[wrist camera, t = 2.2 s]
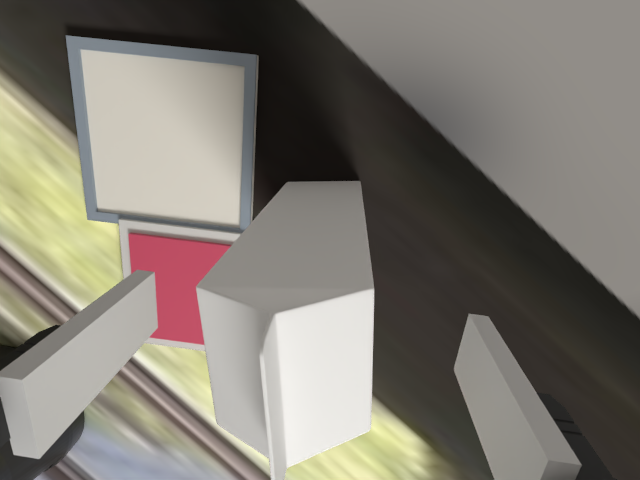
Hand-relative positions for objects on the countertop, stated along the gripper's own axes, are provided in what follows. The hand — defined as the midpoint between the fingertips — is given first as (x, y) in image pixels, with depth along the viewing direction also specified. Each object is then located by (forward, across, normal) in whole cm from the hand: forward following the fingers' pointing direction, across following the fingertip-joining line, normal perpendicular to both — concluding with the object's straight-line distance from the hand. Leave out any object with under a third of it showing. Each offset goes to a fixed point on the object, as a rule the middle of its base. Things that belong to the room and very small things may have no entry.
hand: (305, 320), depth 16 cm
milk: (+16, 0, 0) cm, 16 cm away
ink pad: (+16, -12, -8) cm, 21 cm away
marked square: (+16, -14, +4) cm, 21 cm away
